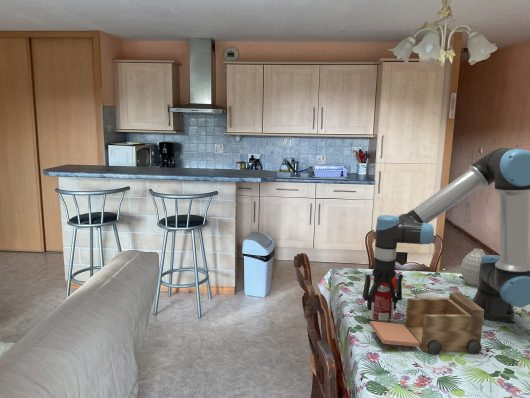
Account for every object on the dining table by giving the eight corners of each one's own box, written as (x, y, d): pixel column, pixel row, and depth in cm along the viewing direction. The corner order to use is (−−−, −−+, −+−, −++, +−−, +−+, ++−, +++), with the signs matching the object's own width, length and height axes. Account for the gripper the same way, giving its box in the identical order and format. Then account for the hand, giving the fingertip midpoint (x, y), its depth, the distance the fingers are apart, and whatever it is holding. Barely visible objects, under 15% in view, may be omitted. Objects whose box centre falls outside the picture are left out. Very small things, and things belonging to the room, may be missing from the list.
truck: (454, 328, 149) (458, 291, 147) (482, 353, 132) (487, 312, 130) (402, 328, 148) (406, 291, 146) (424, 354, 131) (428, 312, 128)
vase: (455, 278, 201) (459, 244, 198) (483, 280, 200) (487, 246, 197) (464, 288, 189) (468, 252, 186) (494, 290, 187) (499, 254, 184)
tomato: (384, 295, 177) (386, 275, 176) (367, 285, 188) (368, 266, 187) (404, 292, 182) (406, 272, 180) (386, 282, 192) (387, 264, 191)
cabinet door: (403, 324, 145) (370, 321, 144) (419, 343, 132) (383, 339, 131) (402, 328, 145) (369, 325, 144) (418, 347, 133) (382, 344, 132)
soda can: (390, 324, 150) (393, 292, 148) (371, 322, 152) (373, 290, 150) (389, 316, 157) (391, 285, 155) (370, 314, 158) (372, 284, 156)
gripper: (407, 254, 155) (402, 313, 158) (355, 255, 153) (351, 313, 157) (415, 261, 147) (410, 322, 151) (361, 261, 146) (357, 322, 150)
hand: (380, 317), depth 154 cm, fingers closed on soda can, 7 cm apart
